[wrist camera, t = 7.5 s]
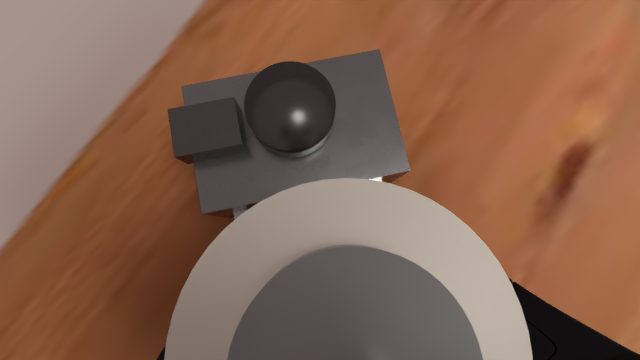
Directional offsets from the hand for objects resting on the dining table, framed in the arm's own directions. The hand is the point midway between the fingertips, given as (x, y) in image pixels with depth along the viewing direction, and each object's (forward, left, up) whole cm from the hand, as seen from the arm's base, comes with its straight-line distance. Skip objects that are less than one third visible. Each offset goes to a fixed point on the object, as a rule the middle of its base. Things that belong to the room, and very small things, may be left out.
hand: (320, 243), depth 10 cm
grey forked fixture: (+1, +2, -11) cm, 11 cm away
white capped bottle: (-1, -1, -7) cm, 7 cm away
